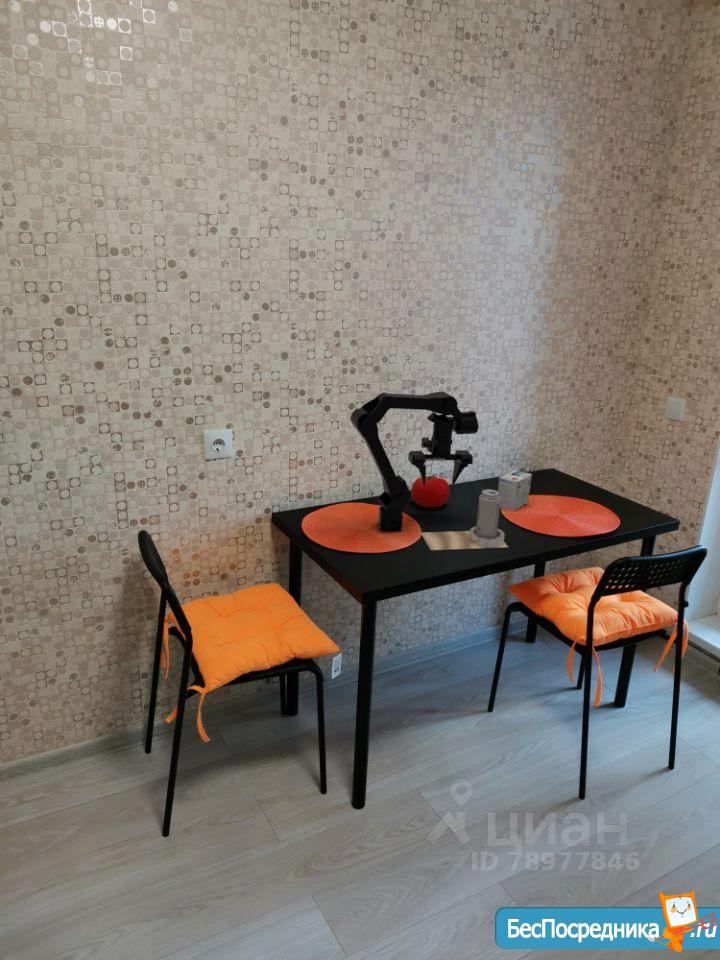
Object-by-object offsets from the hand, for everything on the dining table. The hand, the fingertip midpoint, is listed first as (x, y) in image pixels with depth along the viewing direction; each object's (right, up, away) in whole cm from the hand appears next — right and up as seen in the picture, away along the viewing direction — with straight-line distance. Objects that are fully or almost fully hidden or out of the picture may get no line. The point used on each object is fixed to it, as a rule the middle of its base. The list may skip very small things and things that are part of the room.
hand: (438, 484), depth 224 cm
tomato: (-1, -7, +19) cm, 20 cm away
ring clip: (+13, -16, -9) cm, 23 cm away
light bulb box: (+27, -7, +22) cm, 35 cm away
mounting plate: (+6, -17, -9) cm, 20 cm away
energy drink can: (+13, -17, -9) cm, 23 cm away
